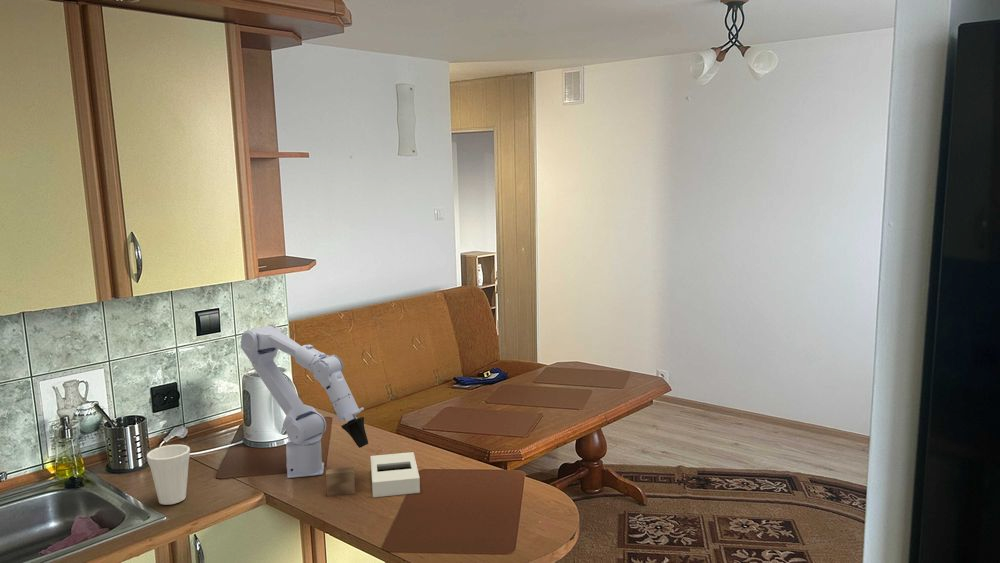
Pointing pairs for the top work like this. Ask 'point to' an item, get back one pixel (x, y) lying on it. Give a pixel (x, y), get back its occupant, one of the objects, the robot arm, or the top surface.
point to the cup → (170, 472)
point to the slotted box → (394, 475)
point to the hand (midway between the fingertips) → (364, 445)
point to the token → (340, 481)
